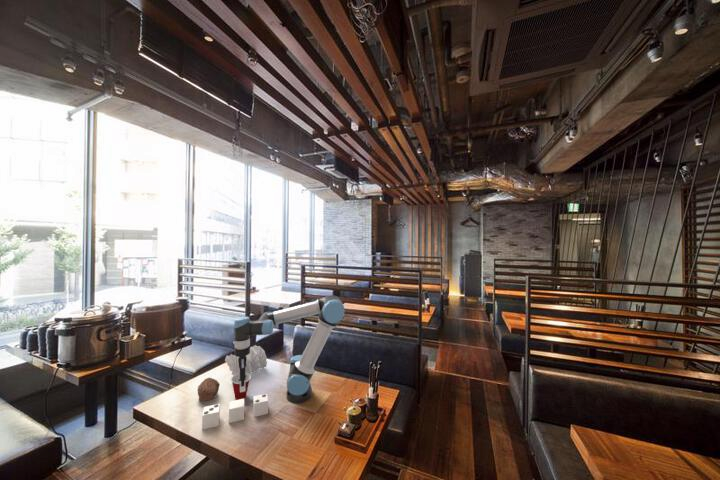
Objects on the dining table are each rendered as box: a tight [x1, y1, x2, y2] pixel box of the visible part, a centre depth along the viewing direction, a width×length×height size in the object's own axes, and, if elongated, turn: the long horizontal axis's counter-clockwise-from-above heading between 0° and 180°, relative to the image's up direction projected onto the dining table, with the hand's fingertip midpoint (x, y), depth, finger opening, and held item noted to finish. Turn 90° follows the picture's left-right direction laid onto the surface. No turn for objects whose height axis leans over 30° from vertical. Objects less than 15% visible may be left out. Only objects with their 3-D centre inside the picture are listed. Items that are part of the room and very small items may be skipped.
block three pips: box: [201, 403, 221, 430], centre depth 132 cm, size 7×7×7 cm
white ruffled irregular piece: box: [224, 344, 268, 377], centre depth 181 cm, size 18×18×25 cm
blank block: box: [228, 398, 245, 424], centre depth 137 cm, size 7×7×7 cm
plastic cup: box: [230, 373, 252, 400], centre depth 154 cm, size 11×11×12 cm
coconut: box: [197, 377, 220, 402], centre depth 154 cm, size 13×11×10 cm
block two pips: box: [252, 393, 269, 418], centre depth 142 cm, size 7×7×7 cm
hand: (242, 391), depth 140 cm, fingers closed
